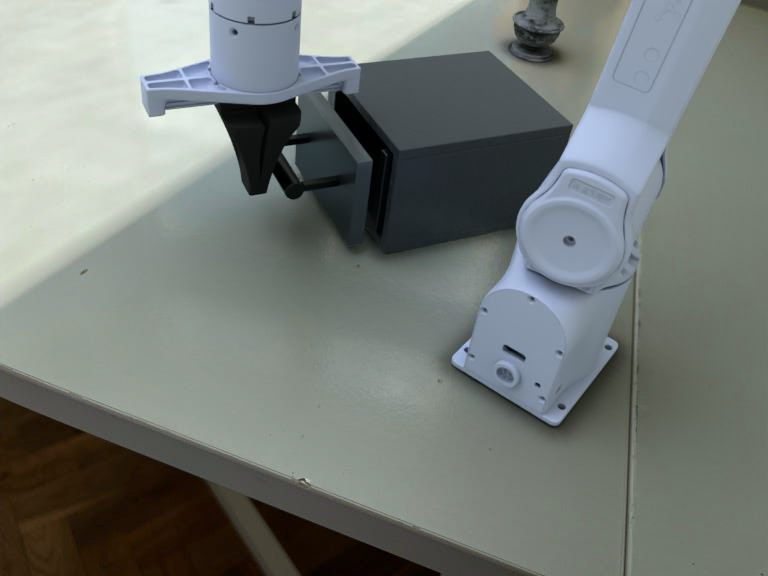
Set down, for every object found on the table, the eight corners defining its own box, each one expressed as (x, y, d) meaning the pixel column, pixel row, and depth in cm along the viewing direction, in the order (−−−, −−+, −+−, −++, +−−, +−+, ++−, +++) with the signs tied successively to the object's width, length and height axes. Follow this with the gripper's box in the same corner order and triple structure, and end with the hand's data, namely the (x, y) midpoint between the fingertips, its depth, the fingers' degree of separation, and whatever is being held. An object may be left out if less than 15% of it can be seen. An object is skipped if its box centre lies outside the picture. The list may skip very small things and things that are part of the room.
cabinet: (384, 254, 59) (399, 150, 53) (322, 164, 67) (330, 65, 61) (543, 221, 65) (574, 124, 59) (469, 142, 73) (489, 50, 67)
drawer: (294, 257, 56) (298, 171, 51) (245, 171, 63) (245, 89, 59) (502, 216, 63) (523, 137, 58) (436, 143, 70) (451, 67, 65)
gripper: (338, -25, 54) (325, 145, 63) (122, -13, 48) (141, 171, 57) (381, 18, 50) (360, 194, 58) (147, 36, 44) (164, 228, 53)
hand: (254, 187), depth 58 cm, fingers closed
